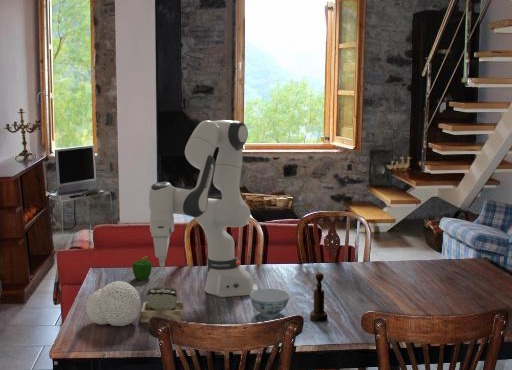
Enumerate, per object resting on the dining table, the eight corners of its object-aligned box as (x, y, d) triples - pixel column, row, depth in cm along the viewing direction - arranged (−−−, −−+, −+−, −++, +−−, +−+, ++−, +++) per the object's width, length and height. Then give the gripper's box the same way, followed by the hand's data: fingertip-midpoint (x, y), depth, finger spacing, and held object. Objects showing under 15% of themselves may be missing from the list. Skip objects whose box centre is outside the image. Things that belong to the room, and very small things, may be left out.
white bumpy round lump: (151, 293, 260) (126, 266, 251) (146, 329, 246) (119, 301, 237) (107, 311, 266) (81, 285, 257) (101, 348, 252) (73, 321, 243)
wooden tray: (183, 311, 265) (183, 301, 265) (181, 321, 255) (181, 310, 254) (143, 312, 264) (143, 302, 264) (141, 322, 254) (140, 311, 253)
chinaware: (252, 307, 271) (252, 288, 270) (290, 308, 270) (290, 289, 269) (247, 320, 257) (247, 300, 255) (288, 322, 255) (288, 302, 254)
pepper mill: (308, 316, 261) (309, 270, 258) (325, 315, 262) (326, 269, 259) (311, 322, 255) (312, 275, 252) (328, 321, 255) (329, 275, 252)
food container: (182, 312, 262) (182, 286, 260) (178, 317, 256) (178, 292, 254) (151, 310, 263) (150, 285, 262) (146, 316, 257) (145, 290, 256)
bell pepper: (133, 282, 302) (132, 260, 301) (132, 276, 310) (131, 255, 309) (152, 281, 304) (152, 259, 303) (151, 275, 312) (150, 254, 311)
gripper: (155, 220, 264) (156, 255, 267) (150, 233, 244) (152, 271, 246) (172, 219, 264) (173, 254, 267) (168, 233, 244) (170, 270, 247)
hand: (163, 262), depth 257 cm, fingers open, 8 cm apart
